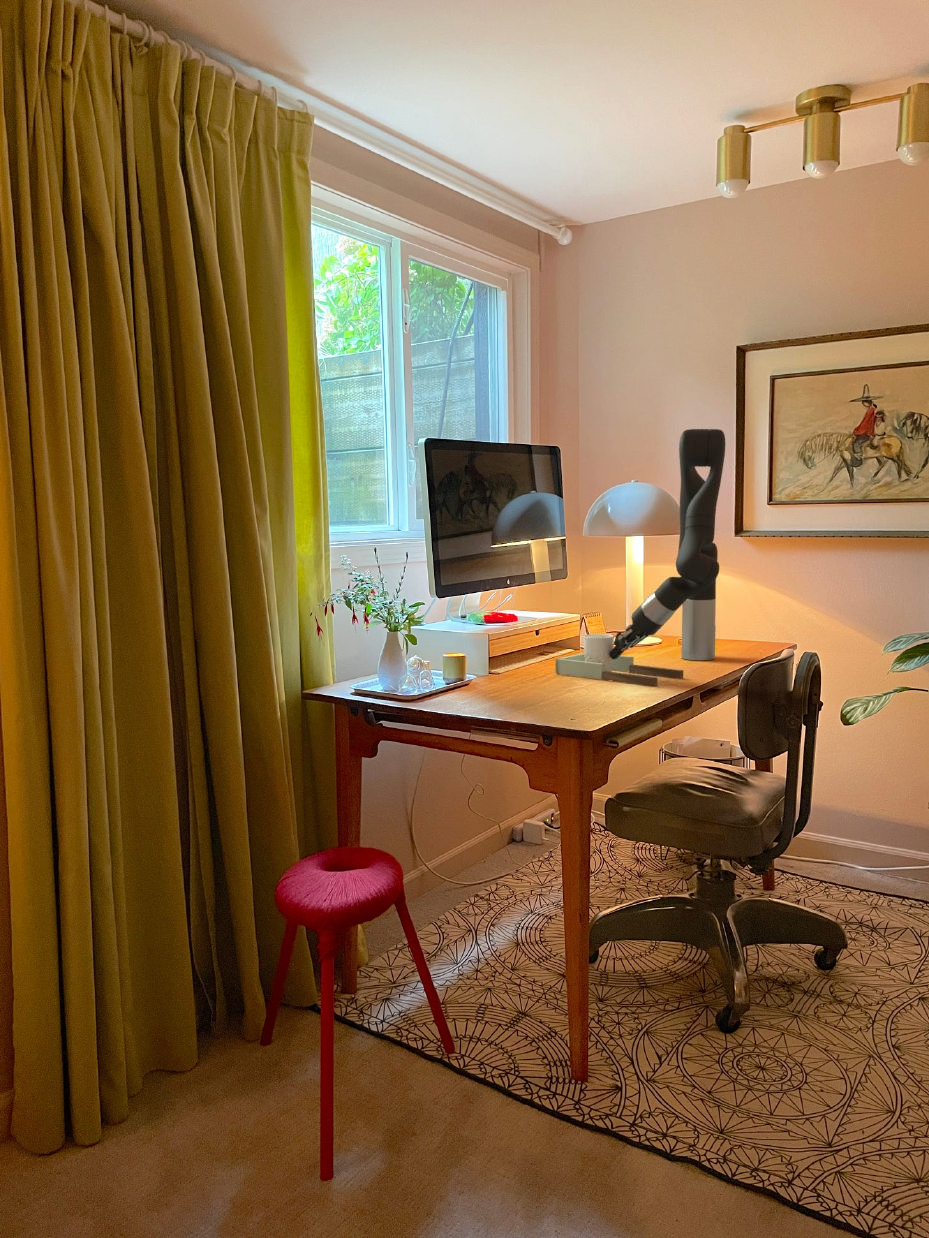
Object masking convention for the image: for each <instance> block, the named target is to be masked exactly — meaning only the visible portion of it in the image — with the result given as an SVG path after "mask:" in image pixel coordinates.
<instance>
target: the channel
mask: <svg viewBox="0 0 929 1238" xmlns="http://www.w3.org/2000/svg"><path fill="white" fill-rule="evenodd" d="M635 673H637V674H635ZM651 675H652V676H651ZM658 677H660V678H668V679H669V678H670V679H676V678H679V679H678V680H682V679H684V670H683V669H682V670H681V669H675V668H674V669H673V668H665V667H659V666H649V665H648V666H647V665H641V664H640V665H639V664H633V665H629V672H628V673H623V672H617V671H614V672H613V671H612V672H609V671H604V672H602V680H601V681H608V680H612V681H611V682H615V681H616V683H623V682H625V683H624V684H631V685H632V684H633V685H639V686H646V687H657V686H658ZM681 678H682V679H681Z"/></svg>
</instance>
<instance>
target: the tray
mask: <svg viewBox="0 0 929 1238" xmlns="http://www.w3.org/2000/svg"><path fill="white" fill-rule="evenodd" d="M634 660H635V659H634V656H627V655H622V654H621V655H620V656H619V657H618V658H617V659H613V661H612V664H611V665H612V671H616V670H619V671H618V672H624V671H629V665H634ZM602 672H604V664H602V663H593V662H585V656H584V652H582V653H576V654H572V655H568V656H563V657H558V658H555V674H556V673H557V674H556V675H561V676H567V675H569V676H570V677H577V678H582V677H586V678H585V679H590V678H596V679H595V680H598V679H600V681H603V680H602ZM569 676H568V677H569Z"/></svg>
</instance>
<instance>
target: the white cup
mask: <svg viewBox="0 0 929 1238" xmlns="http://www.w3.org/2000/svg"><path fill="white" fill-rule="evenodd" d="M614 641H615V636H614V635H613V634H607V633H606V634H605V633H590V634H584V635H583V653H584V656H585V662H593V663H602V664H604V671H609V672H613V670H612V665H611V664H612V661H613V659H612V658H611V657H610V656H609V652H610V651H611V650H612V649H613V648H614V645H615V644H614Z"/></svg>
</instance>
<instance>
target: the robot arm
mask: <svg viewBox="0 0 929 1238" xmlns="http://www.w3.org/2000/svg"><path fill="white" fill-rule="evenodd" d="M679 438H680V439H679V443H678V454H679V457H678V458H679V471H680V489H679V490H680V491H679V540H678V542H679V543H678V551H677V556H676V559H675V568H676V571H677V574H678V575H679V576H669V577H668V578H666V579H665V580H664V581H663V582H662V583H661V584H660V585H659V586H658V587H657V589H655V591H653V592H652V593H651V594H650V595H648V596H647V598H646V599H645V600H644V601H643V602H642V603H641V604H640V605H639V606H638V607H637V608H636V609H635V610H634V611H633V612H632V615H631V621H632V622H631V623H632V624H629V625H628V626H626V628H625V630H624V631H623V632H621V631H618V632H617V633H616V635H615V637H614V644H613V645H615V646H613V649H612V650H611V651H610V652H609V656H610V657H611V658H612V659H617V658H618V657H619V656H620V655H622V654H624V652H625V651H628V650H629V649H632V648H634V647H635V646H636V645H637V644H639V643H641V642H642V641H644V640H645V639H646V638H649V636H654V635H655V634H656V633H657V632H658V631H659V630H660V629H661V628H662V627H663V626H664V625H665V624H666V623H667V622H668V621H669V620H670V619H671V618H672V617H673V615H674V614H675V613H676V611H677V610H678V609H679V608H680V607H681V606H682V607H681V608H682V609H681V612H682V614H681V655H680V656H681V659H683V660H690V661H711V660H714V659H715V658H716V631H717V630H716V628H717V627H716V605H717V604H716V601H717V599H716V598H717V597H716V595H717V593H716V591H717V590H716V589H717V586H716V585H717V577H718V576H719V572H720V563H719V562H718V558H719V557H718V555H719V554H718V552H719V551H718V547H717V544H716V543H715V542H714V540H715V533H716V532H715V531H716V530H715V529H716V511H717V504H718V499H719V494H720V488H721V483H722V482H721V481H722V478H723V471H724V463H725V456H726V435H725V433H724V431H723V430H722V429H717V428H691V429H686V430H683V432H682V433H681V435H680V437H679ZM696 467H698V468H699V467H701V468H702V467H705V468H706V467H709V471H708V475H707V478H706V479H703V477H702V476H701V475H700V474H699V473H698V471H697V469H696Z"/></svg>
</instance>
